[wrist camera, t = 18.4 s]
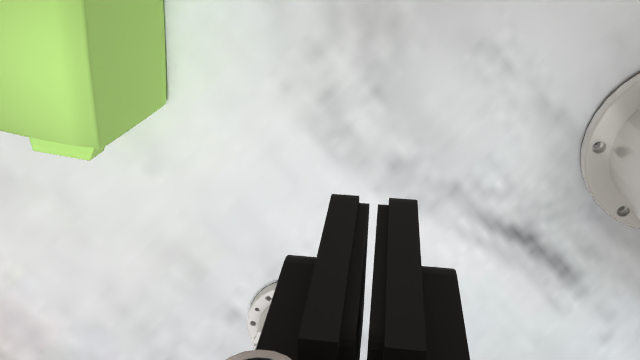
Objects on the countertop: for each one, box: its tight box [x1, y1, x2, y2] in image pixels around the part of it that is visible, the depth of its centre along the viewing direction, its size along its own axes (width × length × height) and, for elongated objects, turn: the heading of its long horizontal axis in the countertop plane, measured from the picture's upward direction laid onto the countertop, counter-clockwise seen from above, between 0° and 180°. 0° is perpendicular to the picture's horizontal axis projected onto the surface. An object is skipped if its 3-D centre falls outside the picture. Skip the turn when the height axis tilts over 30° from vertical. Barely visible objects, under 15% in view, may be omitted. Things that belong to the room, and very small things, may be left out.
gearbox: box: [0, 0, 166, 160], centre depth 33 cm, size 18×10×10 cm, turn 175°
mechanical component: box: [247, 282, 277, 350], centre depth 46 cm, size 10×4×10 cm
